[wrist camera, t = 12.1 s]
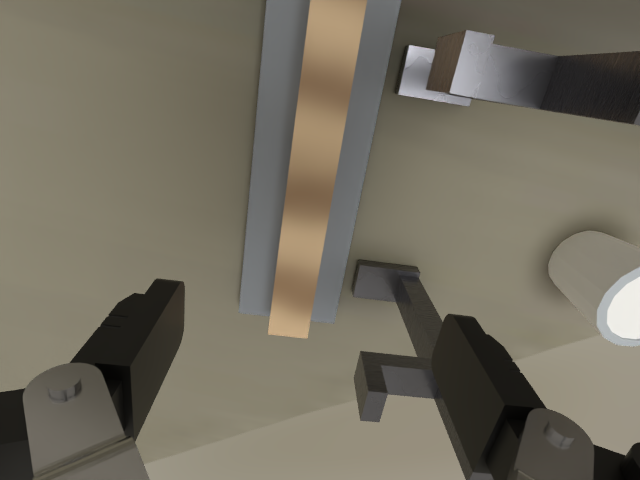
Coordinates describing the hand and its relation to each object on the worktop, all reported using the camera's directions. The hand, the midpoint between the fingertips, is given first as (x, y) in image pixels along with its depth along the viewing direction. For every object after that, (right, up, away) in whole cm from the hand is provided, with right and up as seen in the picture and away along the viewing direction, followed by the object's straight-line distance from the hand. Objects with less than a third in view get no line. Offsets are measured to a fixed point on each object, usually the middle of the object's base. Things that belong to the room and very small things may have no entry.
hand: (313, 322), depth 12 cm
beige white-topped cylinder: (+22, +1, +21) cm, 31 cm away
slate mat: (-1, +7, +17) cm, 19 cm away
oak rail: (-1, +7, +16) cm, 17 cm away
